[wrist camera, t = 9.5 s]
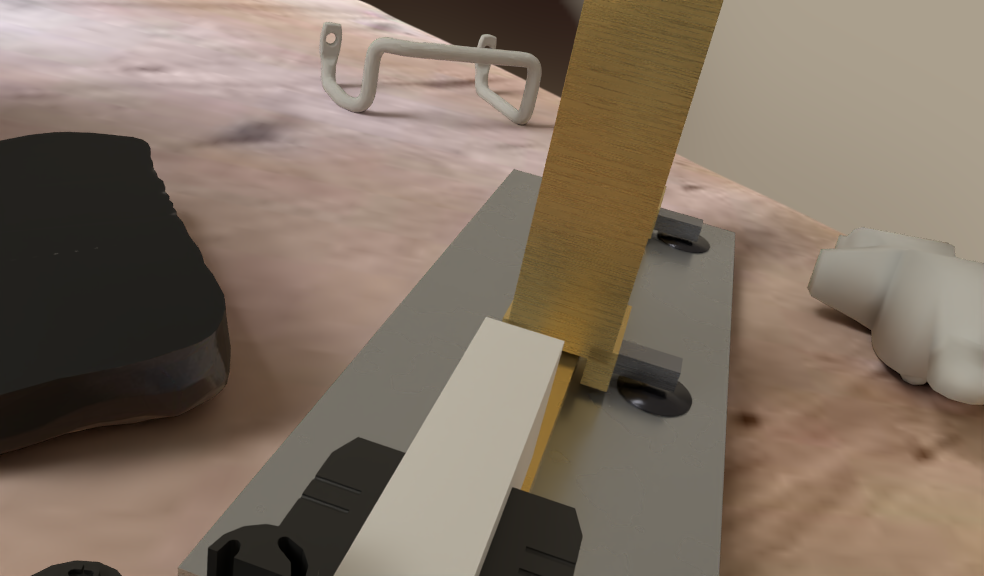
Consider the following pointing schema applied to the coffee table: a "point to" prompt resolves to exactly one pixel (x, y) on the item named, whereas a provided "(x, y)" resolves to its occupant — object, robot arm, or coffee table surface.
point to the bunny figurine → (911, 306)
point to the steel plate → (584, 415)
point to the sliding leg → (610, 180)
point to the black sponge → (98, 292)
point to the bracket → (430, 51)
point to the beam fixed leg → (568, 362)
